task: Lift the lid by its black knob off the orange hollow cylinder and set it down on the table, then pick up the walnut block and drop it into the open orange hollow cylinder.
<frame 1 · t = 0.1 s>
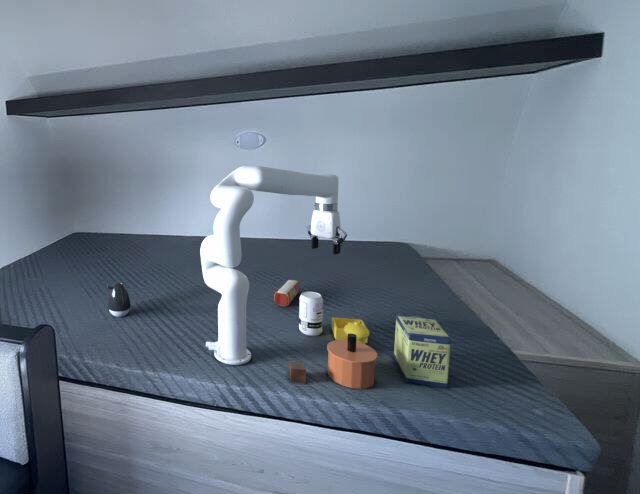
hand: (325, 251, 154), 31 cm above the countertop, tool pointing down, fingers open, 9 cm apart
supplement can: (310, 331, 155), on the countertop
bath set: (351, 342, 146), on the countertop
protein box: (418, 372, 126), on the countertop
snack package: (287, 299, 188), on the countertop
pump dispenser: (119, 314, 180), on the countertop
block: (297, 378, 126), on the countertop
orange hollow cylinder: (350, 376, 125), on the countertop
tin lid: (351, 351, 124), point 8 cm above the countertop, touching orange hollow cylinder
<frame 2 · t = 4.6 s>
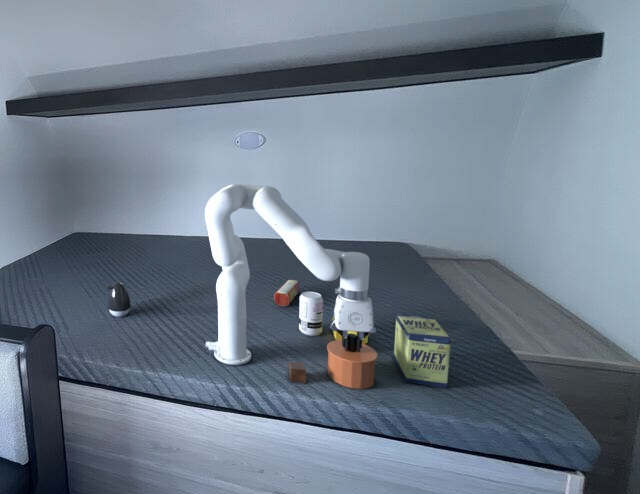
hand: (351, 349, 124), 9 cm above the countertop, tool pointing down, fingers closed on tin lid, 2 cm apart
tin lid: (351, 351, 124), point 9 cm above the countertop, touching gripper, orange hollow cylinder
everything else where it was.
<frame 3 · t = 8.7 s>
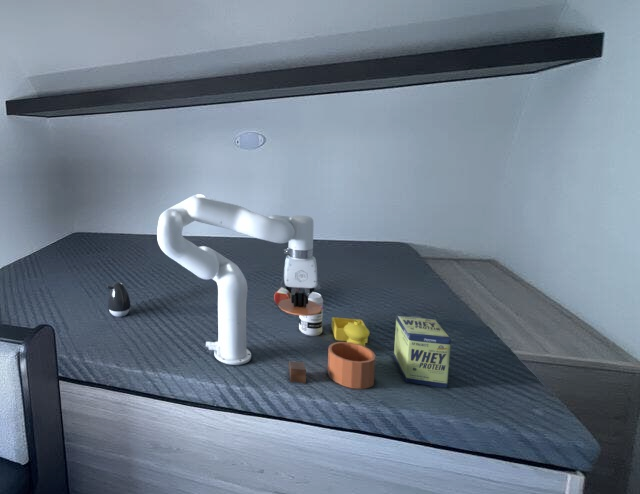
hand: (299, 305, 135), 19 cm above the countertop, tool pointing down, fingers closed on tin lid, 2 cm apart
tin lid: (299, 307, 135), point 18 cm above the countertop, touching gripper
everything else where it was.
when the fingers open (1 cm above the countertop, at t = 12.6 s): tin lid stays where it is, point 1 cm above the countertop.
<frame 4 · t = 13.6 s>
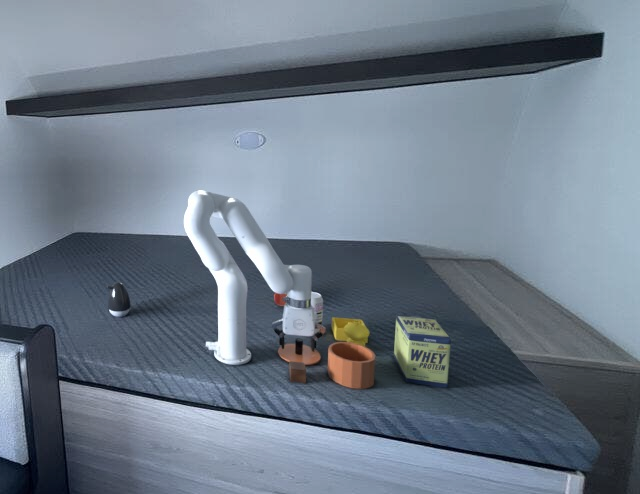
hand: (297, 348, 138), 3 cm above the countertop, tool pointing down, fingers open, 9 cm apart
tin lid: (298, 354, 138), point 1 cm above the countertop
everything else where it was.
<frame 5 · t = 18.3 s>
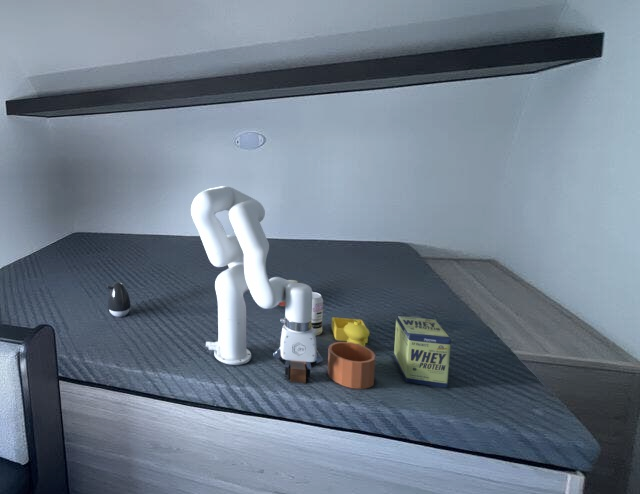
hand: (297, 377, 126), 0 cm above the countertop, tool pointing down, fingers closed on block, 4 cm apart
block: (297, 378, 126), on the countertop, touching gripper
everything else where it was.
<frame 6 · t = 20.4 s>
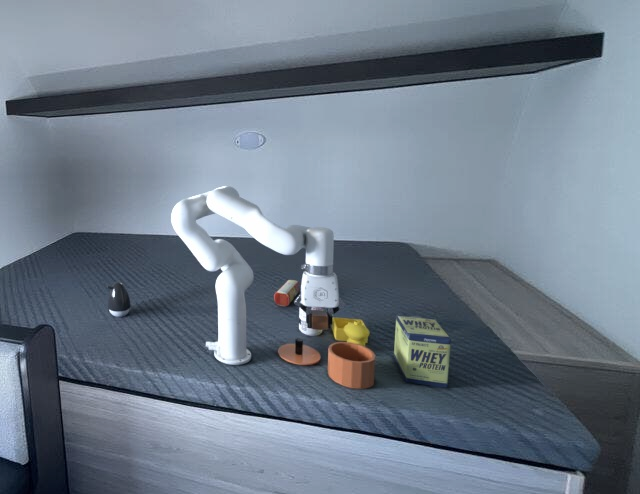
hand: (319, 325, 122), 18 cm above the countertop, tool pointing down, fingers closed on block, 4 cm apart
block: (318, 326, 122), point 17 cm above the countertop, touching gripper
everything else where it was.
when the fingers open (13 cm above the countertop, at t = 22.9 s): block drops 12 cm, resting on orange hollow cylinder.
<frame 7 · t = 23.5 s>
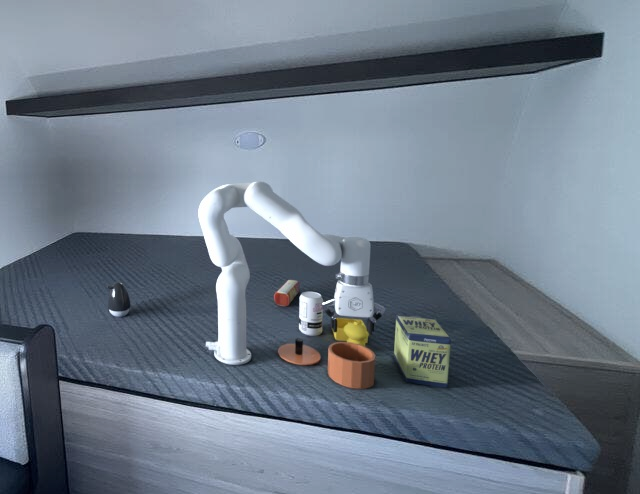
hand: (351, 331, 123), 15 cm above the countertop, tool pointing down, fingers open, 9 cm apart
block: (350, 375, 125), point 1 cm above the countertop, touching orange hollow cylinder
everything else where it was.
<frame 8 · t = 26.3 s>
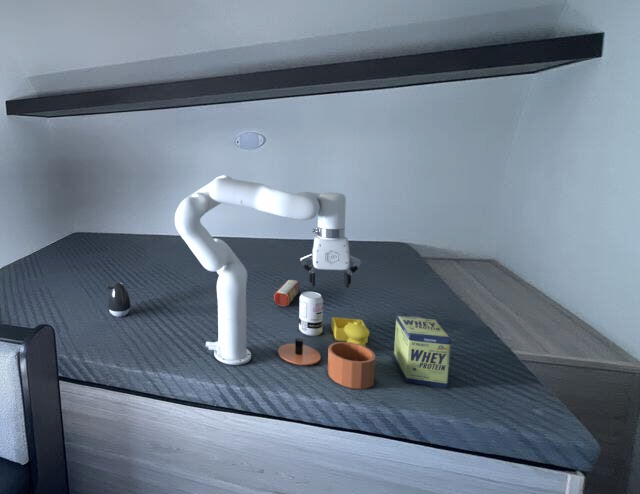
hand: (329, 285, 126), 28 cm above the countertop, tool pointing down, fingers open, 9 cm apart
nothing on the countertop moved.
at the end: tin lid point 0.6 cm above the countertop; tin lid inside the target area (0.2 cm from its centre), point 0.6 cm above the countertop; block inside the target area in the orange hollow cylinder (0.1 cm from its centre), point 0.5 cm above the orange hollow cylinder's base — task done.
